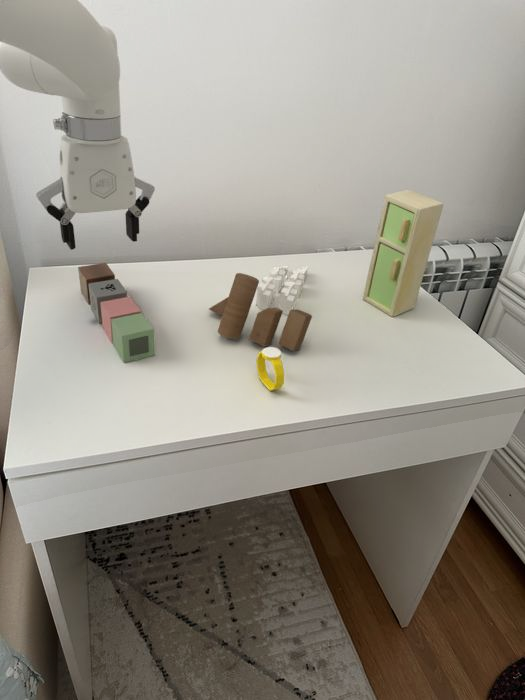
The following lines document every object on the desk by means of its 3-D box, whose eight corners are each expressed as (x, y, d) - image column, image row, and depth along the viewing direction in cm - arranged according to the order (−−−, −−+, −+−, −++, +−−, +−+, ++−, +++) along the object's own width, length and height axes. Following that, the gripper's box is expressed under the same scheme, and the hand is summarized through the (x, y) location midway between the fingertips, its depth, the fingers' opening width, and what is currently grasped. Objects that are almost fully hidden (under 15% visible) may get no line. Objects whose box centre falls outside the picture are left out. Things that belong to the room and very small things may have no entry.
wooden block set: (300, 357, 91) (322, 300, 88) (281, 363, 83) (303, 301, 80) (214, 317, 97) (231, 263, 94) (188, 320, 89) (206, 261, 86)
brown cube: (88, 305, 94) (86, 279, 91) (80, 291, 97) (77, 266, 94) (116, 299, 96) (115, 274, 93) (108, 286, 99) (106, 262, 96)
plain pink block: (112, 344, 85) (110, 317, 82) (102, 327, 88) (100, 301, 85) (142, 337, 87) (141, 311, 84) (132, 321, 91) (130, 296, 88)
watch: (286, 394, 79) (291, 362, 75) (270, 398, 77) (274, 366, 74) (266, 370, 83) (270, 339, 79) (251, 375, 82) (254, 343, 78)
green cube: (124, 363, 81) (122, 336, 78) (113, 345, 85) (111, 319, 82) (155, 355, 83) (154, 329, 80) (143, 338, 87) (142, 312, 84)
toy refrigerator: (358, 299, 104) (382, 194, 92) (383, 291, 108) (409, 188, 96) (389, 318, 99) (418, 210, 87) (414, 309, 103) (445, 203, 91)
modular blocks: (290, 316, 97) (293, 297, 94) (254, 307, 98) (256, 289, 96) (310, 270, 113) (313, 253, 110) (279, 263, 114) (281, 246, 111)
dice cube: (128, 317, 91) (126, 292, 89) (99, 323, 89) (96, 297, 86) (119, 303, 95) (117, 278, 92) (91, 308, 93) (88, 283, 90)
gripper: (33, 136, 68) (50, 259, 77) (162, 132, 76) (162, 244, 86) (21, 122, 73) (38, 239, 82) (143, 120, 81) (146, 227, 91)
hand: (102, 242), depth 84 cm, fingers open, 9 cm apart
